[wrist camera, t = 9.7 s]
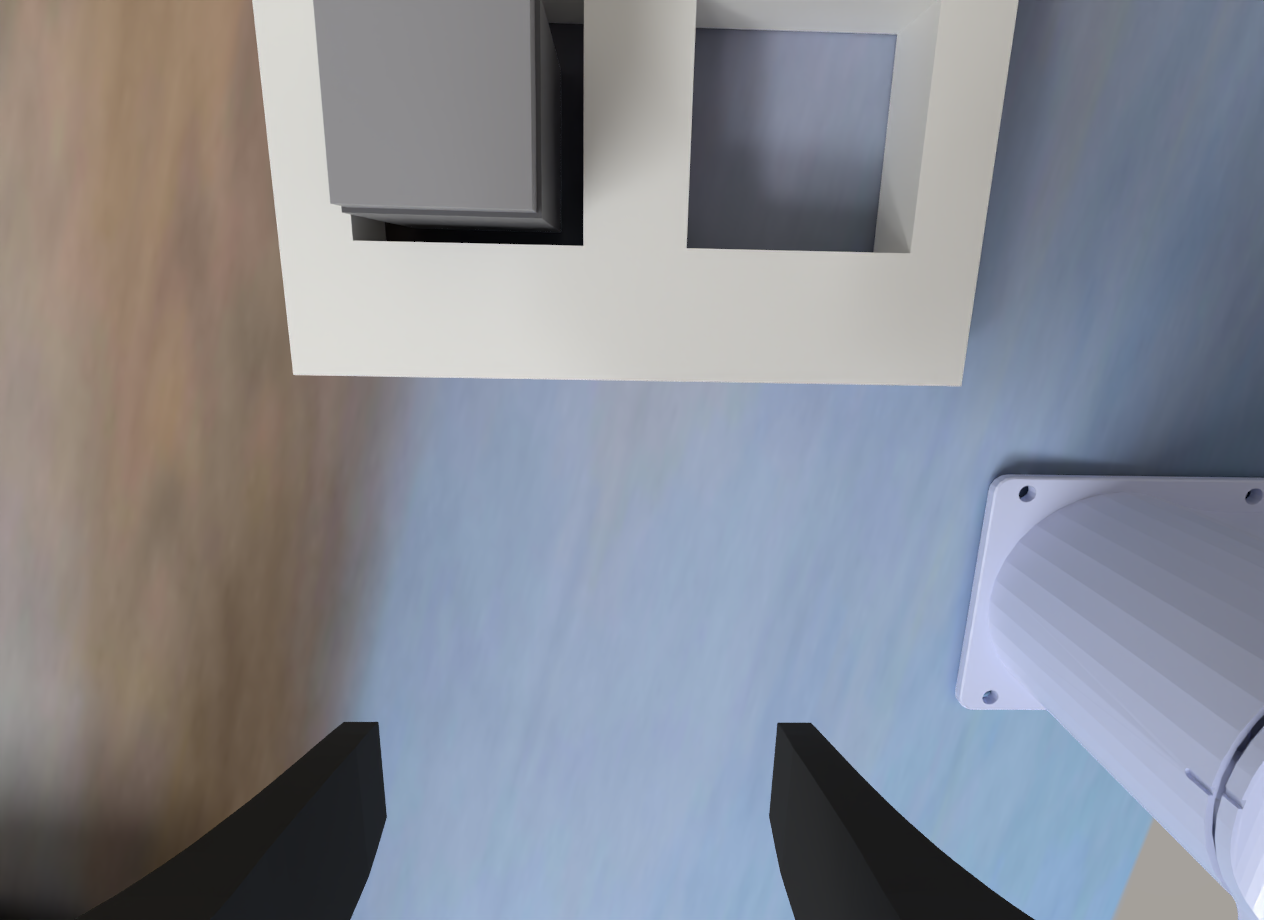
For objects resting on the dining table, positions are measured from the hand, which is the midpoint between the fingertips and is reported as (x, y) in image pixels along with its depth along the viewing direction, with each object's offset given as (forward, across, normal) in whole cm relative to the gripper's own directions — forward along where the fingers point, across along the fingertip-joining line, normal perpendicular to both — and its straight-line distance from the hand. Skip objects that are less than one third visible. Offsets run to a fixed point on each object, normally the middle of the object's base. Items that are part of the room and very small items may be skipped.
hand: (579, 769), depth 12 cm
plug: (+10, +3, -12) cm, 15 cm away
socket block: (+9, -1, -12) cm, 15 cm away
